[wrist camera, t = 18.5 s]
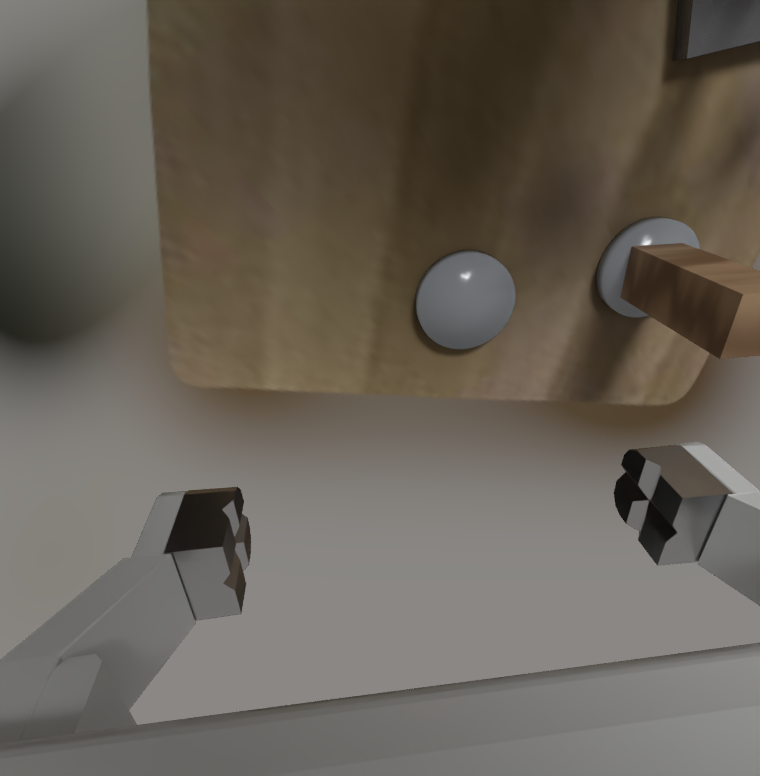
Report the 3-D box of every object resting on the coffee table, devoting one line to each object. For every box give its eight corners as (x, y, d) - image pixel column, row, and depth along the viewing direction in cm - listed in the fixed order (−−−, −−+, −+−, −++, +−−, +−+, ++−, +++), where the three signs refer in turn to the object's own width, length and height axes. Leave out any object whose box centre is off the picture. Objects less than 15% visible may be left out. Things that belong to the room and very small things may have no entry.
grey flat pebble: (597, 229, 40) (605, 233, 39) (696, 206, 40) (706, 208, 39) (594, 321, 44) (601, 326, 43) (684, 300, 44) (693, 305, 43)
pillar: (631, 246, 40) (743, 294, 29) (682, 242, 40) (809, 289, 30) (620, 297, 42) (719, 358, 31) (667, 293, 42) (782, 353, 32)
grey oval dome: (407, 263, 39) (409, 267, 38) (507, 239, 39) (512, 242, 38) (423, 353, 44) (425, 358, 43) (513, 331, 44) (518, 336, 43)
